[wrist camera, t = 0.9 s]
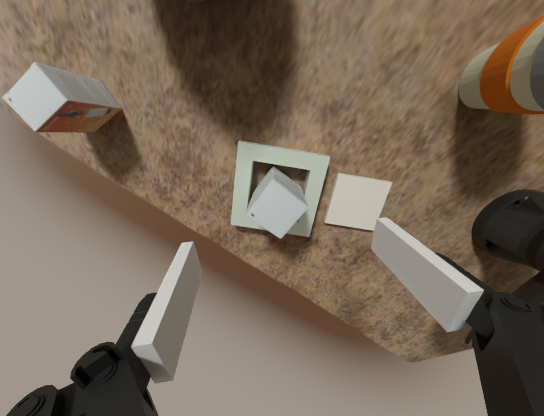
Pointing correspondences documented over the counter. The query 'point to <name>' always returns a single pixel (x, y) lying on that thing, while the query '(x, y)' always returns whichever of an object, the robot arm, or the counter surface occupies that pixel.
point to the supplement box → (277, 203)
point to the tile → (356, 201)
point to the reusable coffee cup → (508, 74)
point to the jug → (196, 0)
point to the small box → (61, 100)
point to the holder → (283, 157)
